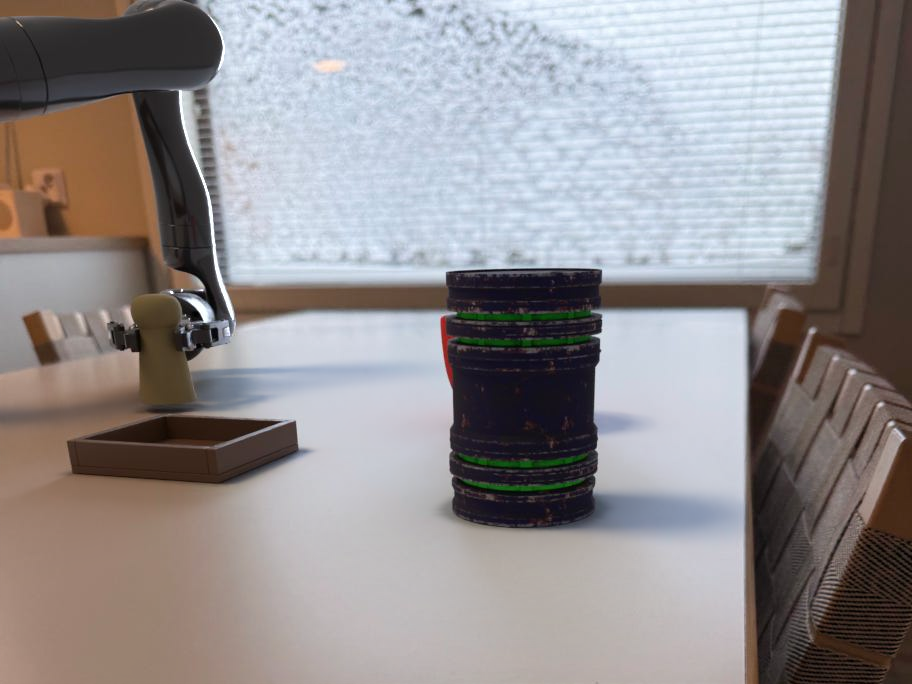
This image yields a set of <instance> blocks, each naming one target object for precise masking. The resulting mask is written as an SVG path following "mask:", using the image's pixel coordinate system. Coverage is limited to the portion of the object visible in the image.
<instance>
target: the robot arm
mask: <svg viewBox="0 0 912 684" xmlns="http://www.w3.org/2000/svg"><path fill="white" fill-rule="evenodd" d="M224 55H225V43H224V40H223V36H222V33H221V31H220V28H219V27H218V25H217V24H216V21H214V19H213V18H212V17H211V16H210V15H209V14H208V13H207V12H206V11H205V10H203V9H202V8H200V7H199V6H197V5H195V4H193V3H191V2H189V1H185V0H137V1H135V2H133V3H132V4H130V5H129V6H128V7H127V8H126V9H125V10H124V12H123V14H122V15H121V16H114V17H105V18H103V17H102V18H100V17H99V18H97V17H94V18H93V17H92V18H90V17H79V16H78V17H77V16H63V15H62V16H61V15H17V16H16V15H15V16H4V17H0V124H2V123H10V122H15V121H21V120H26V119H34V118H38V117H42V116H43V117H44V116H47V115H51V114H56V113H59V112H63V111H64V112H65V111H68V110H72V109H77V108H80V107H84V106H88V105H92V104H95V103H99V102H103V101H105V100H109V99H112V98H116V97H119V96H123V95H129V94H131V98H132V101H133V104H134V105H133V106H134V108H135V112H136V117H137V121H138V125H139V128H140V129H139V130H140V132H141V137H142V140H143V145H144V149H145V153H146V157H147V158H146V159H147V162H148V167H149V173H150V177H151V182H152V188H153V195H154V202H155V210H156V218H157V227H158V228H157V229H158V235H159V243H160V245H159V246H160V253H161V259H162V262H163V264H164V266H165V267H166V268H168V269H169V270H172V271H175V272H179V273H183V274H187V275H191V276H193V277H195V278H197V280H199V282H201V284H202V285H203V287H204V289H203V288H200V289H199V288H166V289H162V290H161V291H160V292H159V293H158V294H166V295H170V296H173V297H175V298H176V299H177V300H178V301H179V303H180V305H181V308H182V320H181V322H180V324H179V326H178V328H176V329H174V337H175V344H176V350H177V351H185V354H186V358H187V362H190V361H191V360H194V359H196V357H198V356H199V355H200V354H201V353H202V352H203V351H204V350H210V348H215V347H218V346H222V345H228V344H230V343H231V338H232V337H233V335H234V333H235V330H236V326H237V319H236V313H235V309H234V306H233V303H232V301H231V298H230V296H229V292H228V291H227V287H226V285H225V282H224V279H223V276H222V272H221V269H220V265H219V264H220V263H219V260H218V254H217V247H216V234H215V224H214V214H213V213H214V212H213V206H212V202H211V197H210V192H209V190H208V187H207V184H206V182H205V181H206V180H205V179H204V176H203V174H202V172H201V169H200V167H199V163H198V161H197V159H196V157H195V154H194V151H193V149H192V146H191V143H190V140H189V136H188V133H187V129H186V125H185V119H184V111H183V98H182V97H183V95H182V93H183V92H193V91H197V90H201V89H203V88H205V87H206V86H208V85H209V84H210V83H211V82H213V80H214V79H215V78H216V76H217V75H218V74H219V72H220V70H221V69H222V64H223V61H224V58H225V57H224ZM106 329H107V335H108V341H109V346H110V347H112V348H113V349H115V350H117V351H120V352H124V351H126V350H128V349H130V352H131V353H139V352H140V351H141V349H140V337H139V328H138V326H137V325H136V324H135V323H134V322H133V324H131V325H129V326H128V328H125V324H124V322H115V321H113V320H112V321H111V320H110V321H109V322H106Z"/></svg>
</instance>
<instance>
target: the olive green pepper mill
mask: <svg viewBox="0 0 912 684" xmlns="http://www.w3.org/2000/svg"><path fill="white" fill-rule="evenodd" d="M129 311H130V316H131V318H132V321H133V324H134V323H135V324H136V325H137V326H138V328H139V337H140V349H141V351H140V352H138V363H139V364H138V366H139V367H138V369H139V370H138V371H139V373H138V375H139V378H138V379H139V381H138V382H139V383H138V384H139V385H138V386H139V403H140V404H142V405H147V406H149V405H151V406H168V405H169V406H170V405H181V404H187V403H192V402H194V401H197V399H198V398H197V394H196V390H195V385H194V382H193V378H192V374H191V370H190V367H189V363H188V362H189V361H187V358H186V354H185V351H177V350H176V344H175V337H174V329H176V328H178V326H179V324H180V322H181V320H182V308H181V305H180V303H179V301H178V300H177V299H176V298H175V297H173V296H170V295H166V294H159V293H146V294H142V295H138V296H136V297H134V298H133V299H132V301H131V304H130V309H129Z"/></svg>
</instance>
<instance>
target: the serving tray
mask: <svg viewBox="0 0 912 684" xmlns="http://www.w3.org/2000/svg"><path fill="white" fill-rule="evenodd" d="M297 427H298V426H297V420H295V419H283V418H282V419H278V418H258V417H237V416H236V417H235V416H234V417H233V416H216V415H215V416H214V415H213V416H212V415H194V414H193V415H192V414H191V415H190V414H171V413H170V414H169V413H162V414H158V415H154V416H150V417H147V418H143V419H140V420H136V421H133V422H129V423H125V424H122V425H117V426H114V427H111V428H107V429H103V430H100V431H96V432H93V433H89V434H85V435H81V436H78V437H73V438H70V439H67V440H66V446H67V451H68V455H69V457H68V458H69V463H70V467H71V472H72V474H81V475H83V474H84V475H98V476H112V477H125V478H141V479H142V478H143V479H156V480H167V481H168V480H169V481H184V482H199V483H210V484H211V483H213V484H221V483H223V482H225V481H228V480H230V479H233V478H234V477H238V476H239V475H242V474H244V473H246V472H249V471H252V470H254V469H256V468H259V467H260V466H264V465H266V464H268V463H271V462H273V461H275V460H278V459H280V458H283V457H285V456H287V455H290V454H293V453H295V452H297V451H299V449H300V448H299V447H300V446H299V439H298V428H297Z"/></svg>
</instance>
